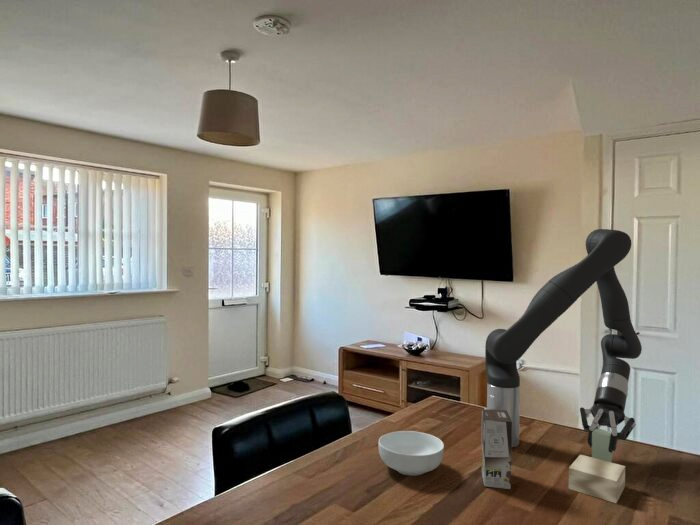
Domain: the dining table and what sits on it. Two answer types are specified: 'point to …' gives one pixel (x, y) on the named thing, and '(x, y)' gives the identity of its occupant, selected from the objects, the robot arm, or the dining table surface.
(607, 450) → the sage block
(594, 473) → the maple block
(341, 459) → the dining table surface
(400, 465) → the cereal bowl
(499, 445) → the coffee box
